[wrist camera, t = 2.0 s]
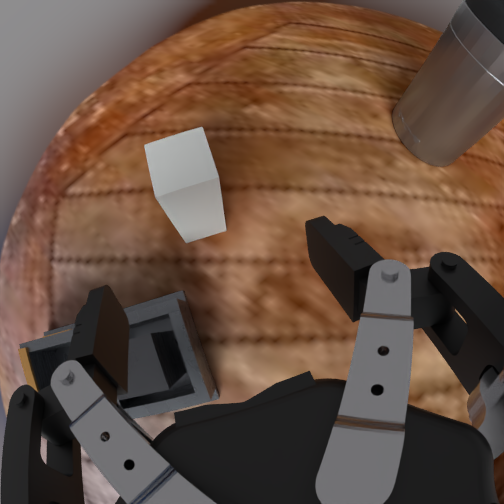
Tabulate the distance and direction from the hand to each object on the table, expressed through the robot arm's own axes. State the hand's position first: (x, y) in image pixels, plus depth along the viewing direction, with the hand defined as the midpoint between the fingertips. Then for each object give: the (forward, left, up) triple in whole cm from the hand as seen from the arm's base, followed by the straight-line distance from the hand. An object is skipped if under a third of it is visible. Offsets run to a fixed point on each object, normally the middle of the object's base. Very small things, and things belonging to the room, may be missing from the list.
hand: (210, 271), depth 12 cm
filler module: (0, -7, -13) cm, 15 cm away
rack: (+10, +3, -13) cm, 17 cm away
